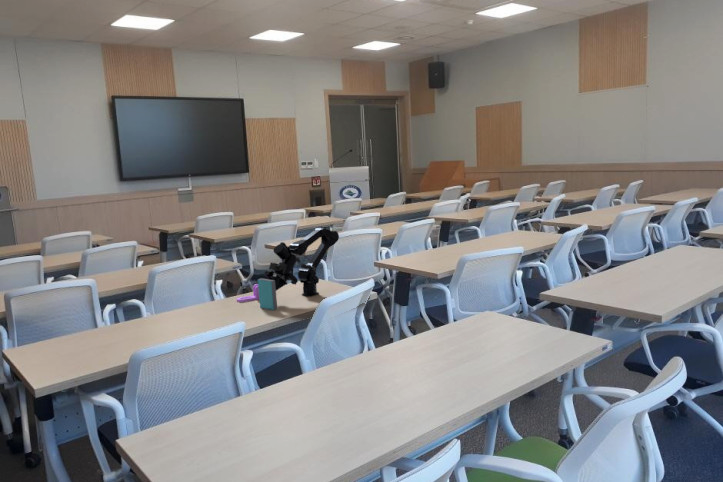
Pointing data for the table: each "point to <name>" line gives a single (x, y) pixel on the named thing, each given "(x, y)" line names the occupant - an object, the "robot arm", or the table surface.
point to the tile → (267, 294)
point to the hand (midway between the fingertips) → (272, 292)
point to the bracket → (252, 297)
